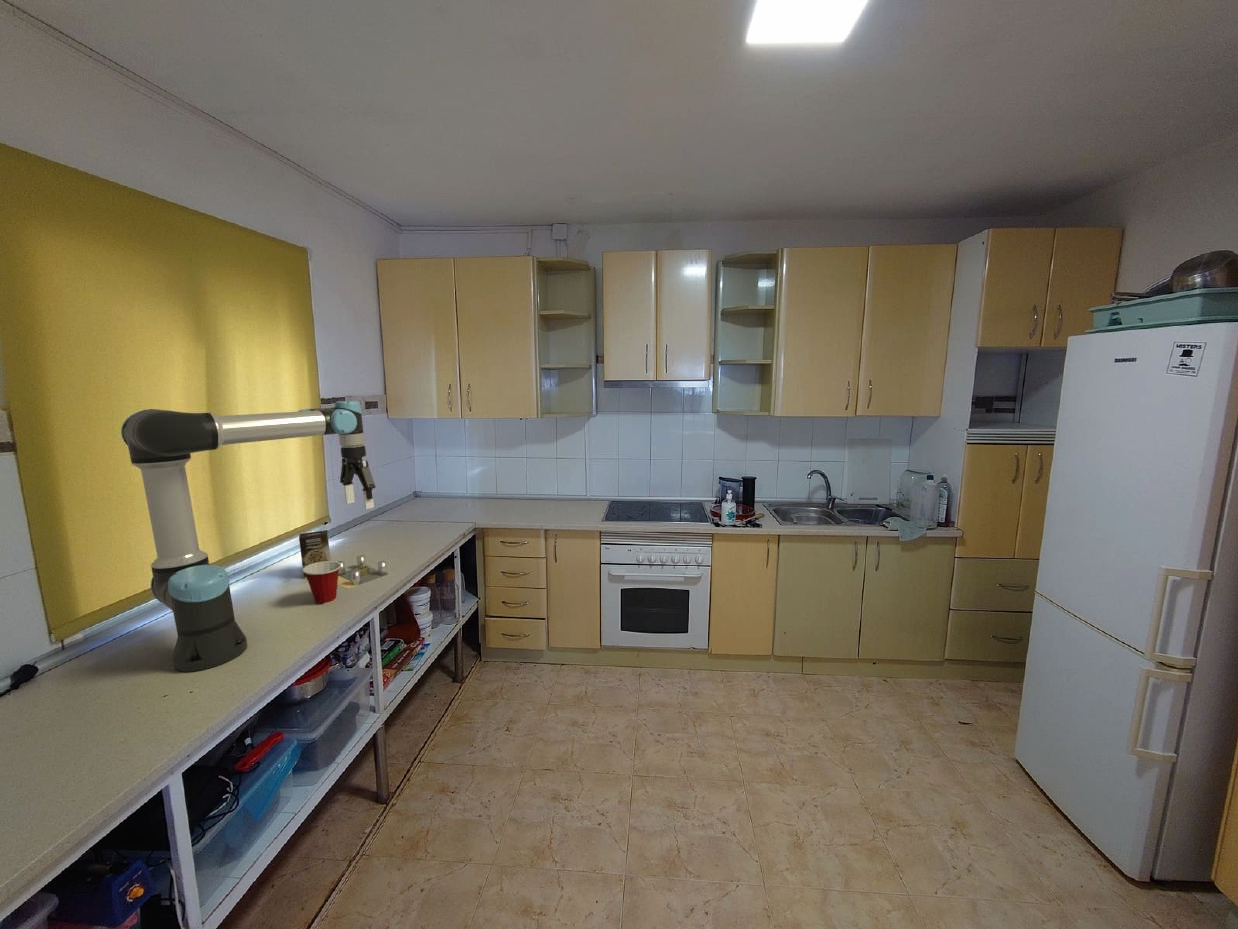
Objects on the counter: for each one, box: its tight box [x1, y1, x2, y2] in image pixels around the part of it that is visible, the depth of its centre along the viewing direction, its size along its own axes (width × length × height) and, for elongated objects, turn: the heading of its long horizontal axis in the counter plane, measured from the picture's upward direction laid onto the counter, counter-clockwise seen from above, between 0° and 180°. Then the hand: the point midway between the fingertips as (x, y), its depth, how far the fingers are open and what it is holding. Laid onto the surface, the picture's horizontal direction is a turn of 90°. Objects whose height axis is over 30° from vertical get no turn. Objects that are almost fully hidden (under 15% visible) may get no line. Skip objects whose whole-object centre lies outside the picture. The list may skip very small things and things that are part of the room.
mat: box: [337, 566, 389, 590], centre depth 180 cm, size 15×17×1 cm
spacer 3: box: [356, 554, 367, 567], centre depth 188 cm, size 3×3×5 cm
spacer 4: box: [377, 560, 388, 577], centre depth 181 cm, size 3×3×5 cm
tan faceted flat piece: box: [355, 564, 370, 576], centre depth 182 cm, size 5×4×2 cm
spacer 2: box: [351, 570, 362, 586], centre depth 173 cm, size 3×3×5 cm
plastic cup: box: [302, 560, 341, 605], centre depth 160 cm, size 11×11×12 cm
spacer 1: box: [337, 560, 346, 576], centre depth 182 cm, size 3×3×5 cm
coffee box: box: [298, 529, 332, 580], centre depth 182 cm, size 9×6×16 cm
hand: (359, 505), depth 172 cm, fingers open, 13 cm apart
